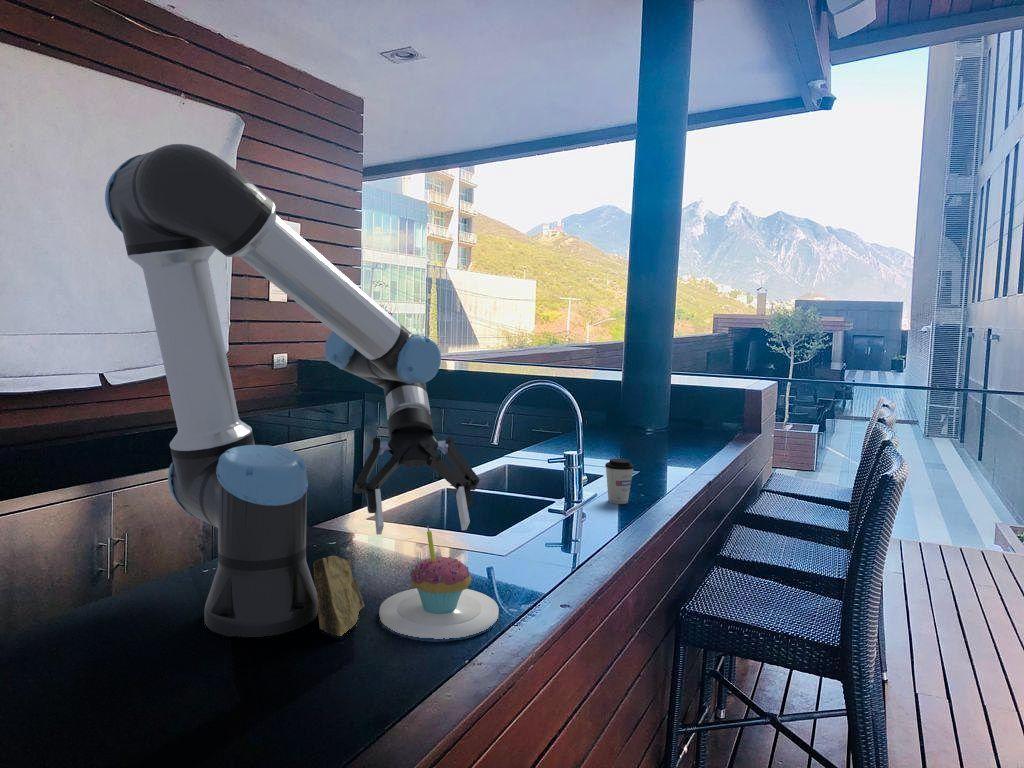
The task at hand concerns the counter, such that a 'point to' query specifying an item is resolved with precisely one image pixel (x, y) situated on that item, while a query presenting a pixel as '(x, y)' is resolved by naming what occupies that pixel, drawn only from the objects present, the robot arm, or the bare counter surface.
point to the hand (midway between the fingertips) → (423, 528)
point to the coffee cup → (619, 480)
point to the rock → (336, 595)
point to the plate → (438, 615)
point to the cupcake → (440, 581)
